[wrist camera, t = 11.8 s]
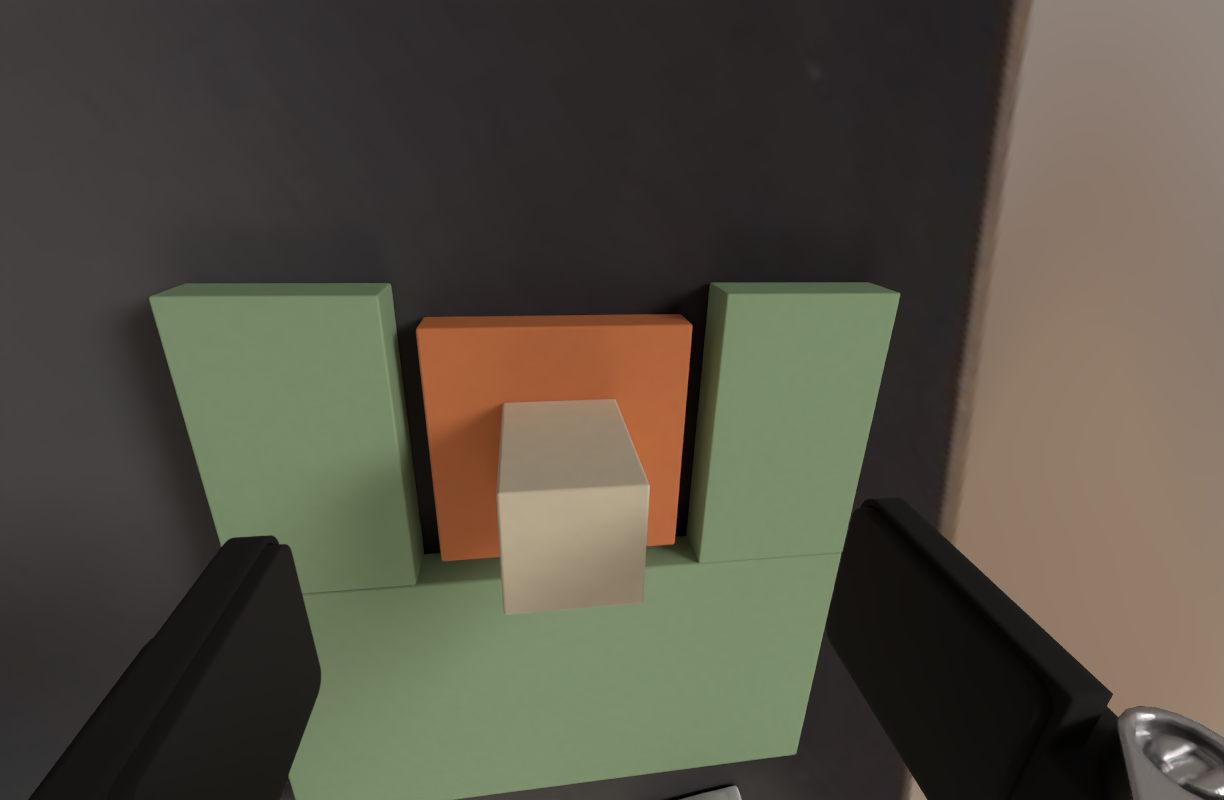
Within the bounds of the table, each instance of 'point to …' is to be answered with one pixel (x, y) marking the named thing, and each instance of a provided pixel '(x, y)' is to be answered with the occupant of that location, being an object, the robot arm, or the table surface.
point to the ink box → (718, 795)
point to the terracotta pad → (549, 370)
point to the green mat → (472, 589)
